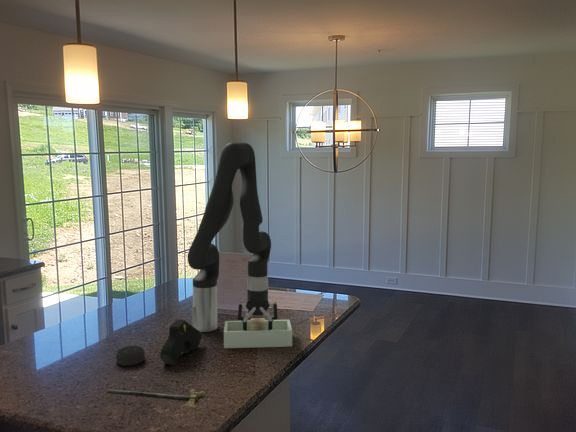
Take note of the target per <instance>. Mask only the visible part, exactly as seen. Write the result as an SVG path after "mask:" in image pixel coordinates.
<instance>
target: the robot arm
mask: <svg viewBox="0 0 576 432" xmlns="http://www.w3.org/2000/svg"><path fill="white" fill-rule="evenodd" d="M255 155H256V154H255V150H254V149H253V146H252V145H251V144H249V143H247V142H228V143H226V144H225V145H224V147H223V148H222V151H221V154H220V157H219V163H218V166H217V170H216V175H215V179H214V181H213V184H212V185H213V186H212V188H211V192H210V195H209V197H208V200H207V202H206V206H205V209H204V212H203V216H202V219H201V221H200V223H199V225H198V226H199V227H198V230H197V232H196V234H195V236H194V238H193V241H192V243H191V245H190V247H189V250H188V253H187V263H188V265H189V267H190V268H191V269H192V270H195V271H198V270H199V271H198V273H197V274H196V275H195V276H194V277H193V278H192V309H191V310H192V326H193V327H194V328H196V329H197V330H199V331H200V332H201V333H207V332H208V333H209V332H213V331H216V330H217V329H218V279H219V276H220V252H219V249H218V247H217V246H216V245H215V243H212V242H213V240H214V238H215V237H216V236H217V235H218V234H219V232H220V231H221V230H222V229H223V227H224V226H225V225H227V222H228V220H229V218H230V215H231V212H232V210H233V207H234V202H235V201H234V193H233V183H234V180H235V176H236V174H237V171H238V170H239V173H240V177H241V190H240V194H239V210H240V214H241V218H242V222H243V227H242V243H243V245H244V248H245V250H246V251H247V252H248V253H250V254H253V255H252V257H251V258H250V259H249V260H248V262H247V281H246V283H247V284H246V289H247V290H246V292H247V293H246V295H247V296H246V300H247V301H246V303H243V302H239V303H238V312H237V321H243V330H245V331H247V321H248V320H249V319H250V317H251V316H253V317H254V316H265V317H266V319H267V320H268V330H272V322H273V320H279V318H278V306H277V305H278V304H277V302H276V301H274V302H269V278H268V263H269V258H270V255H271V249H272V241H271V240H272V239H271V237H270V236H271V235H270V234H269V233H268V232H266V231H260V225H261V224H262V223H263V220H264V219H263V215H262V210H261V206H260V205H261V204H260V201H259V200H260V199H259V193H258V184H257V183H258V182H257V171H256V170H257V169H256V166H257V165H256V156H255ZM245 308H246V309H247V312H245V315H242V313H243V310H244V309H245ZM269 308H271V309H272V310H273V315H271V314H270V312H269V311H268V310H269Z"/></svg>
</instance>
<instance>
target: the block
mask: <svg viewBox="0 0 576 432" xmlns="http://www.w3.org/2000/svg"><path fill="white" fill-rule="evenodd" d="M250 320H251V331H258V330H265V320H266V318H265V317H258V318H256V317H254V318H253V317H252V318H250Z"/></svg>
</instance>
